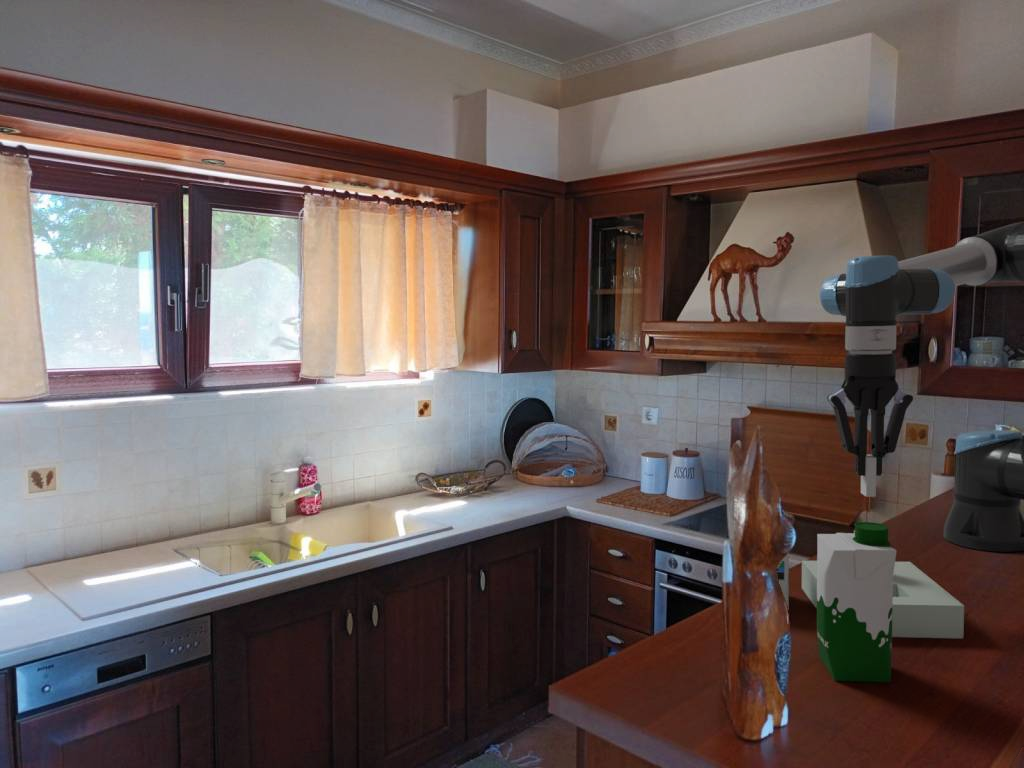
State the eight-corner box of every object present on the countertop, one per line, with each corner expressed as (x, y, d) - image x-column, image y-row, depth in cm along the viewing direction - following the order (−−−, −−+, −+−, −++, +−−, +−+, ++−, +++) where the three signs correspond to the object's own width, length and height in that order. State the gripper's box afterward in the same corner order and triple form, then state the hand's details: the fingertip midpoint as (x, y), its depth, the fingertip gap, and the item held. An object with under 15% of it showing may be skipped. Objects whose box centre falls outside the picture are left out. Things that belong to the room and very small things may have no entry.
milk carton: (900, 686, 98) (903, 535, 97) (828, 684, 99) (829, 535, 98) (875, 655, 107) (877, 517, 105) (809, 654, 108) (810, 517, 106)
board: (909, 589, 132) (909, 561, 131) (963, 638, 112) (964, 605, 111) (801, 588, 134) (801, 560, 133) (836, 635, 114) (836, 603, 114)
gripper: (835, 354, 120) (833, 500, 122) (922, 352, 118) (919, 500, 121) (821, 351, 127) (820, 489, 130) (903, 350, 126) (900, 489, 128)
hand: (868, 494), depth 125 cm, fingers closed
